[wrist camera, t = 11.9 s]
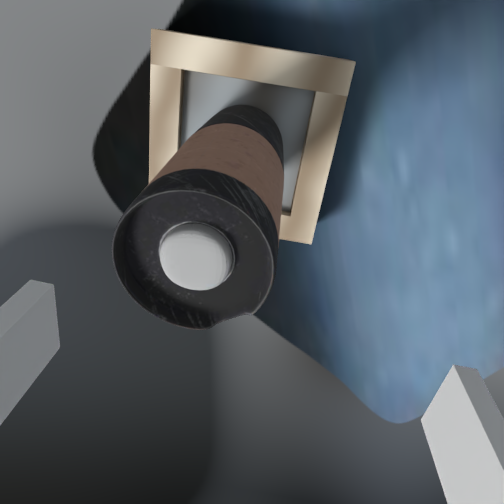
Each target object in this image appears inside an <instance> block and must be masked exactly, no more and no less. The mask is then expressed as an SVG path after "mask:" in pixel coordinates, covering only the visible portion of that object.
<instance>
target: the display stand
mask: <svg viewBox="0 0 504 504" xmlns="http://www.w3.org/2000/svg"><path fill="white" fill-rule="evenodd" d="M355 64H356V62H355V61H352V60H348V59H342V58H336V57H330V56H324V55H318V54H312V53H305V52H299V51H293V50H287V49H281V48H275V47H269V46H262V45H256V44H250V43H244V42H238V41H232V40H226V39H220V38H213V37H207V36H201V35H195V34H189V33H183V32H177V31H170V30H163V29H151V74H150V145H149V183H150V182H151V181H152V180H153V178H154V177H155V176H156V175H157V174H158V173H159V172H160V170H161V169H162V168H163V167H164V166H165V165H166V164H167V162H168V161H169V160H170V159H171V158H172V157H173V155H174V154H175V153H176V152H177V151H178V150H179V149H180V147H181V146H182V145H183V144H184V143H185V142H186V141H187V140H188V138H189V137H191V135H193V134H194V133H195V132H196V131H197V130H198V129H199V128H200V127H202V126H203V125H204V124H205V123H206V122H207V121H208V120H209V119H211V118H212V117H213V116H214V115H215V114H217V113H218V112H219V111H221V110H223V109H225V108H227V107H230V106H234V105H249V106H253V107H256V108H258V109H261V110H262V111H264V112H265V113H267V114H268V115H269V116H270V117H271V118H272V119H273V120H274V122H275V123H276V124H277V126H278V128H279V130H280V133H281V136H282V141H283V154H284V189H283V200H282V211H281V222H280V234H279V239H284V240H290V241H295V242H301V243H307V244H312V239H313V235H314V231H315V227H316V223H317V219H318V215H319V211H320V207H321V203H322V199H323V194H324V190H325V186H326V182H327V178H328V174H329V170H330V166H331V162H332V158H333V154H334V149H335V145H336V141H337V137H338V133H339V129H340V125H341V121H342V117H343V113H344V109H345V104H346V100H347V96H348V92H349V88H350V84H351V80H352V76H353V72H354V68H355Z"/></svg>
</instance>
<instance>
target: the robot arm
mask: <svg viewBox="0 0 504 504" xmlns="http://www.w3.org/2000/svg"><path fill="white" fill-rule="evenodd" d="M59 343H60V342H59V333H58V323H57V313H56V303H55V293H54V285H53V284H49V283H44V282H39V281H34V280H30V281H29V282H28V283H27V284H25V285H24V286H23V287H22V288H21V289H20V290H19V291H18V292H17V293H15V294H14V296H12V297H11V298H10V299H9V300H8V301H7V302H6V303H5V304H3V305H2V306H1V307H0V425H1V423H2V422H3V421H4V420H5V418H6V417H7V416H8V414H9V413H10V412H11V410H12V409H13V408H14V406H15V405H16V404H17V403H18V401H19V400H20V399H21V397H22V396H23V395H24V394H25V392H26V391H27V389H28V388H29V387H30V386H31V384H32V383H33V382H34V380H35V379H36V377H37V376H38V375H39V374H40V373H41V371H42V370H43V369H44V367H45V366H46V365H47V363H48V362H49V361H50V360H51V358H52V357H53V356H54V354H55V353H56V352H57V350H58V349H59V348H60V344H59ZM421 422H422V425H423V428H424V431H425V434H426V437H427V441H428V443H429V447H430V450H431V453H432V456H433V459H434V462H435V465H436V469H437V472H438V475H439V478H440V481H441V484H442V487H443V490H444V493H445V496H446V500H447V503H448V504H504V419H503V417H502V415H501V413H500V411H499V409H498V408H497V406H496V404H495V402H494V400H493V398H492V396H491V395H490V393H489V392H488V389H487V387H486V385H485V383H484V381H483V380H482V378H481V376H480V374H479V372H478V370H477V369H473V368H468V367H463V366H458V365H453V366H452V368H451V370H450V371H449V373H448V375H447V376H446V378H445V380H444V381H443V383H442V385H441V387H440V388H439V390H438V392H437V393H436V395H435V397H434V399H433V400H432V402H431V404H430V405H429V407H428V409H427V411H426V412H425V414H424V416H423V417H422V419H421Z"/></svg>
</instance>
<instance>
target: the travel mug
mask: <svg viewBox="0 0 504 504" xmlns="http://www.w3.org/2000/svg"><path fill="white" fill-rule="evenodd" d="M283 189H284V154H283V141H282V136H281V133H280V130H279V128H278V126H277V124H276V123H275V122H274V120H273V119H272V118H271V117H270V116H269V115H268V114H267V113H265V112H264V111H262V110H261V109H258V108H256V107H253V106H249V105H234V106H230V107H227V108H225V109H223V110H221V111H219V112H218V113H217V114H215V115H214V116H213V117H212V118H211V119H209V120H208V121H207V122H206V123H205V124H204V125H203V126H202V127H200V128H199V129H198V130H197V131H196V132H195V133H194V134H193V135H191V137H189V138H188V140H187V141H186V142H185V143H184V144H183V145H182V146H181V147H180V149H179V150H178V151H177V152H176V153H175V154H174V155H173V157H172V158H171V159H170V160H169V161H168V162H167V164H166V165H165V166H164V167H163V168H162V169H161V170H160V172H159V173H158V174H157V175H156V176H155V177H154V178H153V180H152V181H151V182H150V183H149V184H148V185H147V187H146V188H145V189H144V190H143V191H142V192H141V193H140V195H139V196H138V197H137V198H136V199H135V200H134V201H133V203H132V204H131V205H130V206H129V207H128V208H127V209H126V211H125V212H124V214H123V215H122V217H121V218H120V220H119V222H118V225H117V227H116V229H115V232H114V236H113V241H112V259H113V264H114V268H115V271H116V273H117V276H118V278H119V280H120V282H121V284H122V285H123V287H124V288H125V290H126V292H127V293H128V294H129V295H130V296H131V298H132V299H133V300H134V301H135V302H136V303H137V304H138V305H140V306H141V307H142V308H143V309H145V310H146V311H147V312H149V313H150V314H152V315H154V316H155V317H157V318H159V319H161V320H163V321H165V322H167V323H170V324H173V325H176V326H179V327H183V328H188V329H195V330H205V329H209V328H211V327H213V326H214V325H216V324H217V323H220V322H222V321H225V320H228V319H231V318H234V317H237V316H240V315H253V314H254V313H255V312H256V311H258V309H259V308H260V307H261V306H262V305H263V303H264V302H265V300H266V299H267V297H268V295H269V293H270V291H271V289H272V286H273V283H274V279H275V274H276V267H277V256H278V245H279V234H280V222H281V211H282V200H283Z"/></svg>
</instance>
